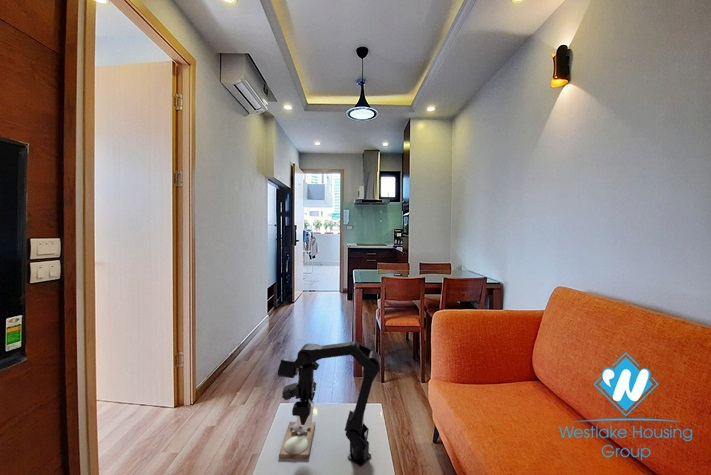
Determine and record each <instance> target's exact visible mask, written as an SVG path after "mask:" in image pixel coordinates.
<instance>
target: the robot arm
mask: <svg viewBox="0 0 711 475" xmlns="http://www.w3.org/2000/svg"><path fill="white" fill-rule="evenodd" d="M345 356H351V357H353V358H354V360H356V362H357V363H358V364H359V365H360V366H361V367H363V372H362V374H363V375H362V376H363V377H362V382H361V386H360V389H359V393H358V396H357V400H356V404H355V407H354V410H353V411H352V410H349V413H348V417H347V419H346V422H345V428H344V431H345V437H346V438H347V440H348V441H349V454H348V455H347V459H348V460H350V461H351V462H353V463H355V464H357V465H358V466H359V467H363V466H364V464H366V462H367V461H369V459H370V458H371V457H372V454H371V453H370V452H369V451H370V442H369V441H368V438H369V437H368V435H369V430H370V429H369V427H368V426H367V425H366V424H365V423H364V420H365V412H366V407H367V403H368V401H369V396H370V392H371V389H372V385H373V382H374V380H375V378H376V377H377V375H378V373H379V371H380V368H381V361H382V359H381V358H382V357H381V355H380V354H379V353H378V352H377V351H373V350H372V349H370V348H369V347H367V346H365V345H363V344H361V343H360V342H359V341H357V340H352V341H349V342H341V343H334V344H333V343H332V344H331V343H330V344H325V345H324V344H323V345H321V344H317V343H305V344H304V345H303V346H302V347H301V348H300V350H299V351H298V352H297V355H296V358H294V359H293V358H287V357H282V358H281V359H280V363H279V366H278V370H277V376H278V377H280V378H289V379H295V377H296V376H298V379H297V382H294V383H290V384H286V385H285V386H284V387H283V389H282V391H281V393H282V396H281V397H282V399H283V400H284V401H288V400H290V399H292V398H295V400H297V401H296V402H295V403H294V404H293V407H292V412H291V415H292V416H293V417H297V416H299V417H300V421H301V425H305V422H306V420H307V418H308V416H309V415H310V412H311V404H310V403H309V400H311V401H313V400H314V397H315V394H316V391H317V390H316V389H317V382H316V381H315V377H314V376H315V374H314V371H317V370H318V369H319V368H320V364H319V363H318V361H319V360H321V359H328V358H336V357H337V358H338V357H345ZM298 400H299V401H302V402H298ZM313 402H314V401H313Z"/></svg>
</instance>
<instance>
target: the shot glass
mask: <svg viewBox="0 0 711 475" xmlns="http://www.w3.org/2000/svg"><path fill="white" fill-rule="evenodd" d="M297 401H298V400H297ZM298 402H302V401H300V400H299V401H298ZM309 403H310V404H311V412H310V415H309V416H308V418H307V420H306V422H305V425H301V421H300V417H299V416H296V422H297V425H298V426H300V427H307V426H309V425H310V424H311V423H312V422H313V414H314V406H315V402H314V401H311V400H309Z"/></svg>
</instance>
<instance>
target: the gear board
mask: <svg viewBox="0 0 711 475" xmlns="http://www.w3.org/2000/svg"><path fill="white" fill-rule="evenodd" d="M315 429H316V421H312V423H311V424H310V425H309V426H307V427H300V426H298V425H297V421H289V422H288V426H287V429H286V433H285V435H284V437H283V441H282V444H281V448H280V449H279V453H278V459H306V460H307V459H309V458H310V454H311V448H312V445H313V439H314V433H315Z"/></svg>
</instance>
